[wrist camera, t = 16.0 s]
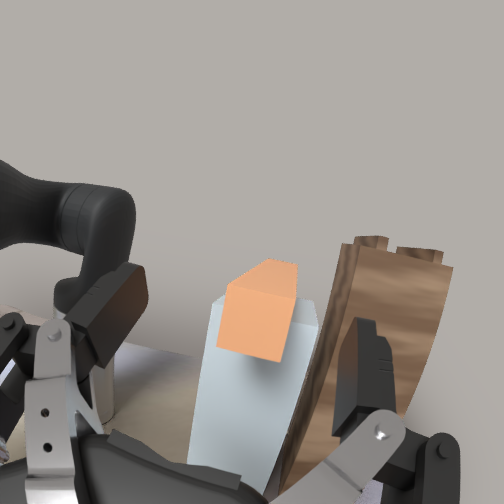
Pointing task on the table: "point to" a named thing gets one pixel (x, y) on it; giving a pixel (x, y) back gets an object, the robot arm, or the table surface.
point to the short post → (249, 400)
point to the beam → (259, 310)
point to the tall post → (387, 324)
